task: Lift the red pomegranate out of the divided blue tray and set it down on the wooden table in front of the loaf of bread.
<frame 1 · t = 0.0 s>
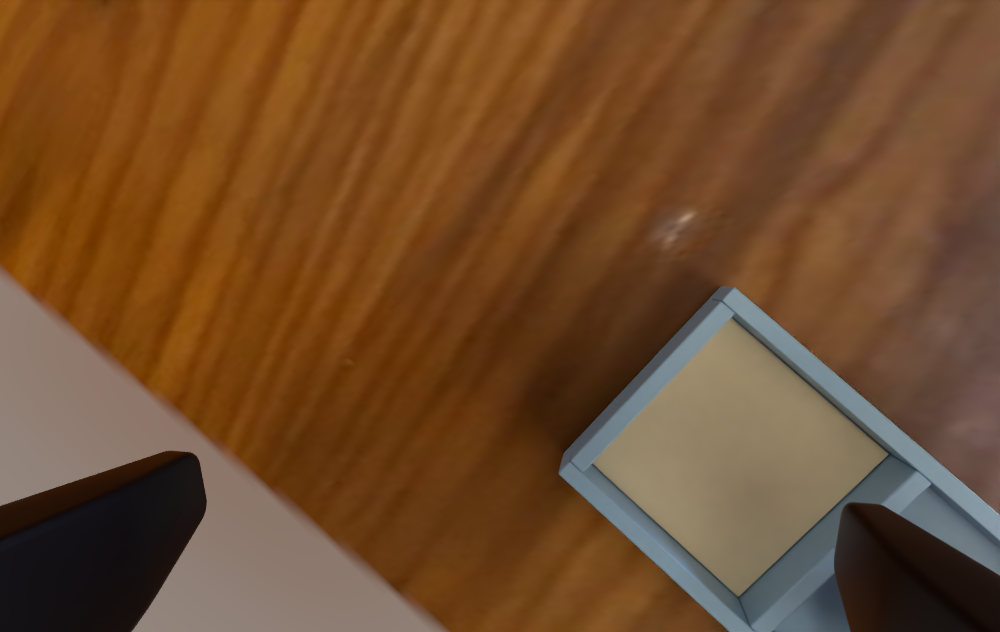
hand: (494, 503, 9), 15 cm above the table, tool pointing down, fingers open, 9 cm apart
divided blue tray: (813, 527, 23), on the table
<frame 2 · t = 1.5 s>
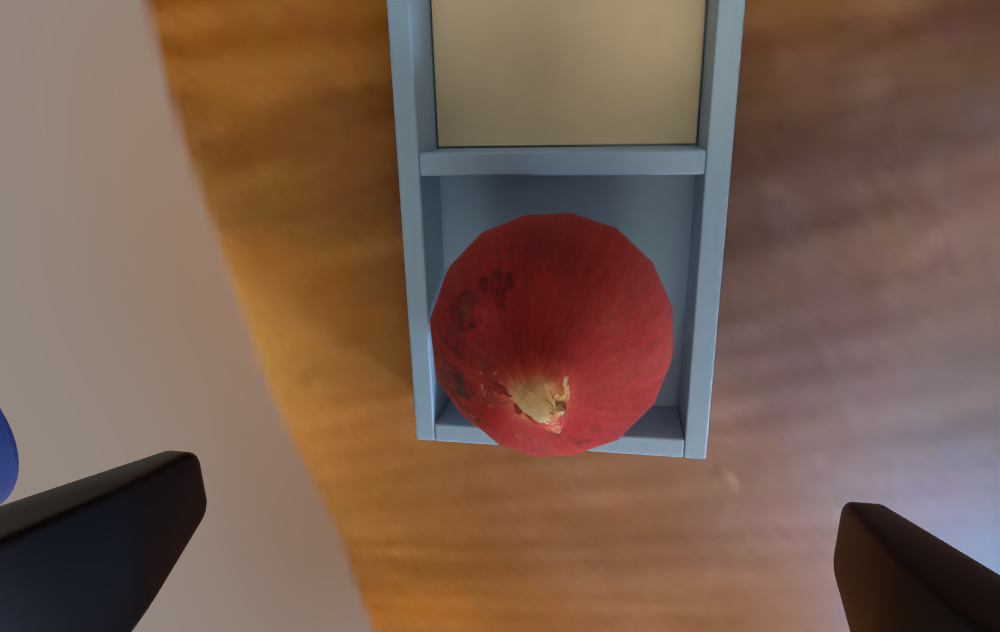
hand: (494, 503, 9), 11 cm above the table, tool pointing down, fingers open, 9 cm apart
divided blue tray: (564, 156, 18), on the table
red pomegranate: (562, 289, 19), resting on divided blue tray
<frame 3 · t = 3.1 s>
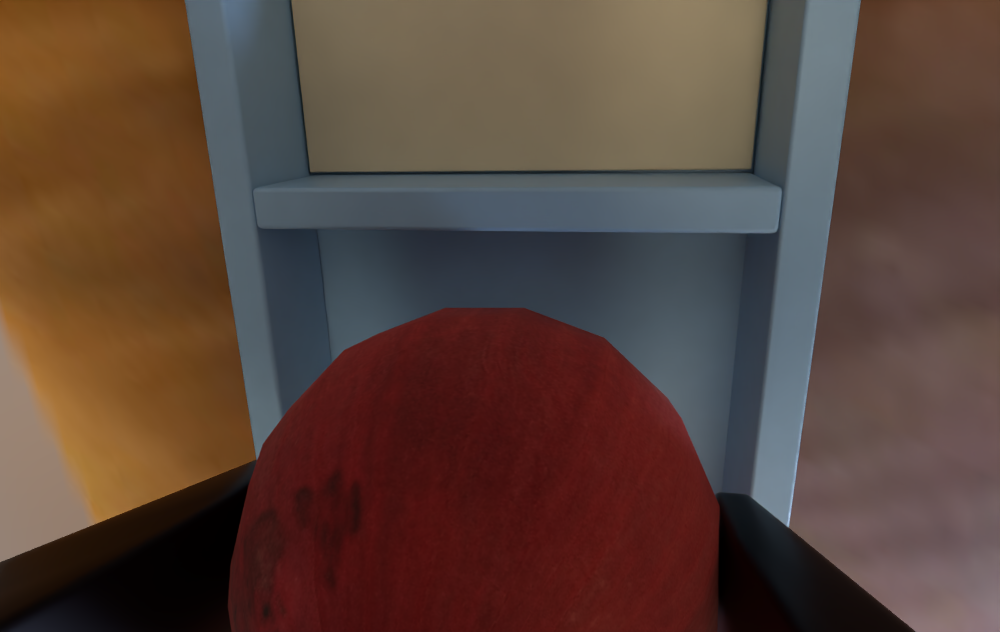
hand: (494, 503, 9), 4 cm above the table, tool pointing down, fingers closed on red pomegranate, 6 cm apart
divided blue tray: (523, 188, 11), on the table
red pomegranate: (523, 403, 12), resting on divided blue tray, touching gripper
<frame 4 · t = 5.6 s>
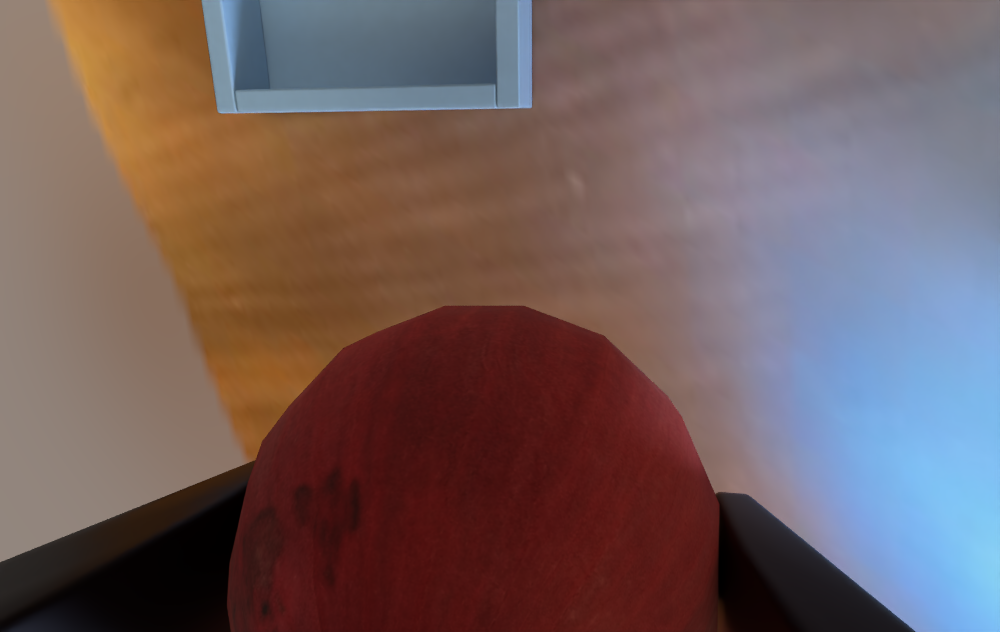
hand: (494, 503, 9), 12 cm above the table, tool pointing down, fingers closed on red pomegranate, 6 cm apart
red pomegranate: (522, 401, 12), point 9 cm above the table, touching gripper
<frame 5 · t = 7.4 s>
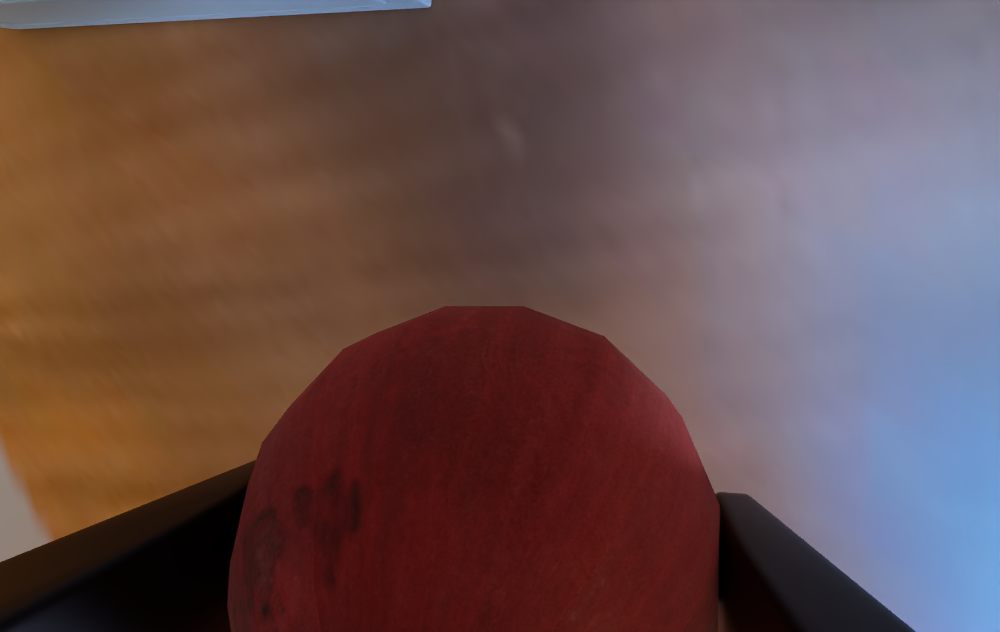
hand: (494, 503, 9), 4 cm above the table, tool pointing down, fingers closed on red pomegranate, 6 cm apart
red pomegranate: (523, 402, 12), point 1 cm above the table, touching gripper
when the fingers open (3 cm above the table, at t = 8.2 s): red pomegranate stays where it is, on the table.
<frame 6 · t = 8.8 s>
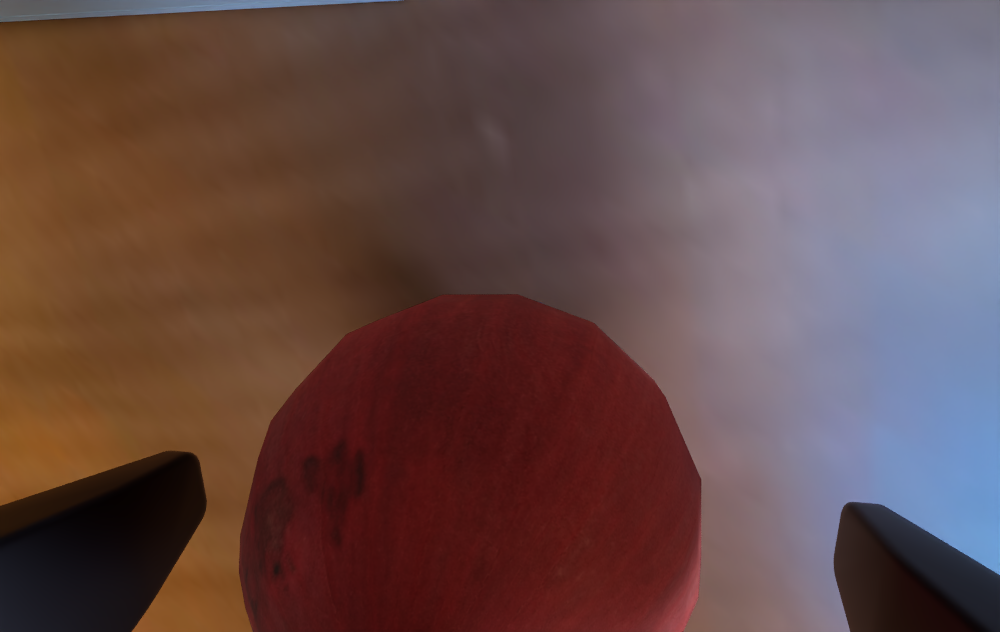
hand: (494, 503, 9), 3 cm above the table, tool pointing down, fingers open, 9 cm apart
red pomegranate: (518, 390, 12), on the table
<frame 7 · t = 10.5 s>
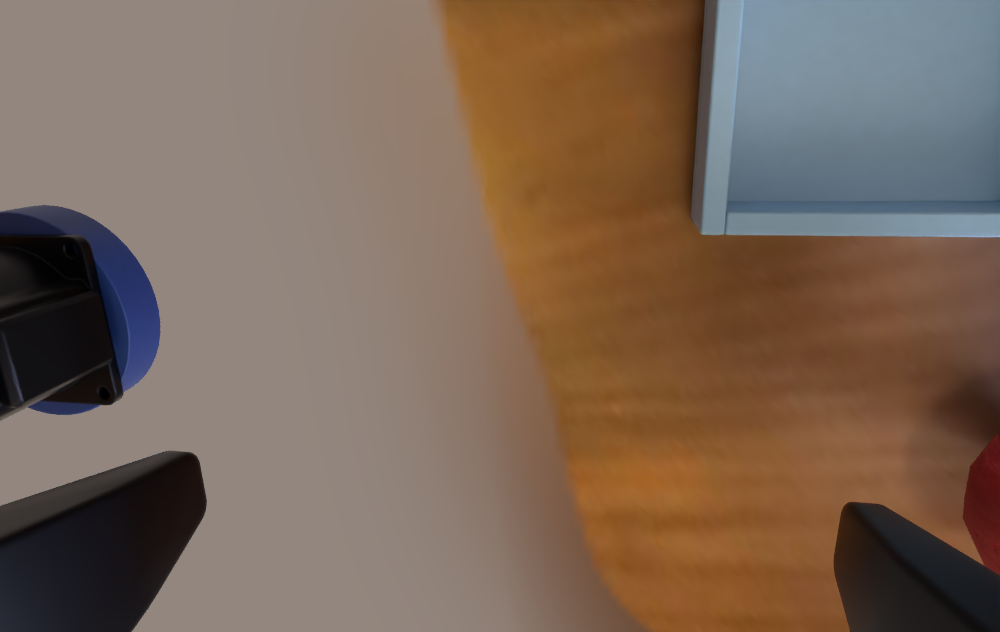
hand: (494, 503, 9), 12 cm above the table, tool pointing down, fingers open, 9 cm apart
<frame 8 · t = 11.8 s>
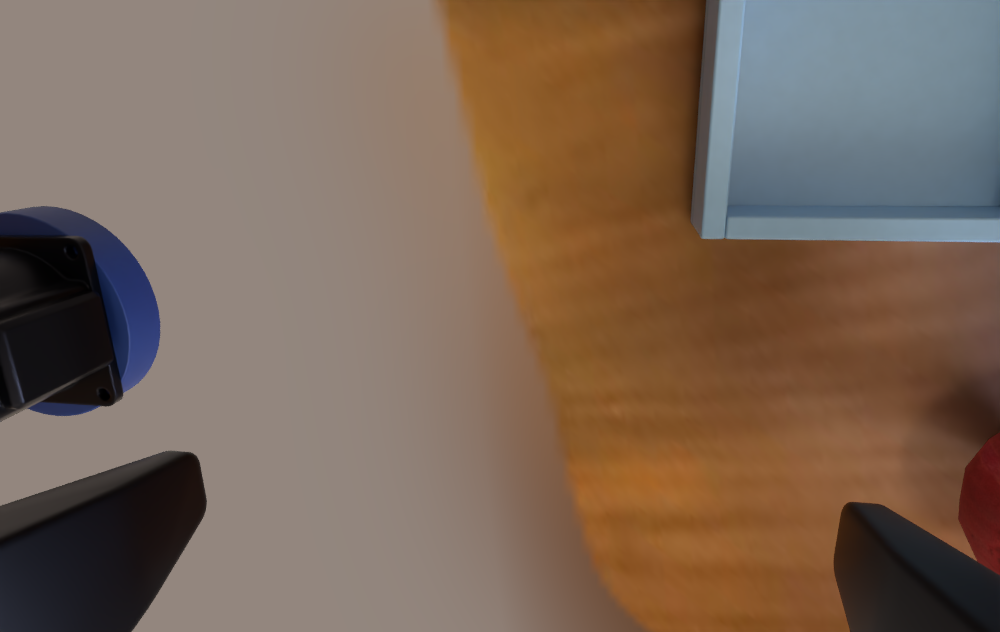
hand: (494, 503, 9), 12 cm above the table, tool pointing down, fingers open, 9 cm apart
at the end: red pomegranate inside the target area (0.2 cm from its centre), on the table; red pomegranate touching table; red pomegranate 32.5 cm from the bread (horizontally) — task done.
